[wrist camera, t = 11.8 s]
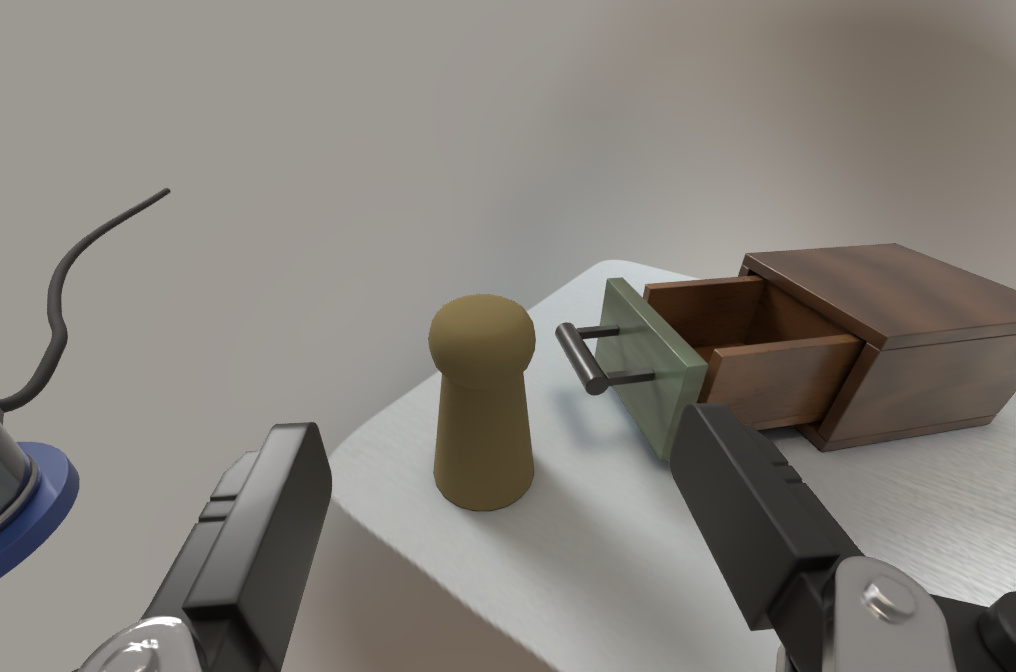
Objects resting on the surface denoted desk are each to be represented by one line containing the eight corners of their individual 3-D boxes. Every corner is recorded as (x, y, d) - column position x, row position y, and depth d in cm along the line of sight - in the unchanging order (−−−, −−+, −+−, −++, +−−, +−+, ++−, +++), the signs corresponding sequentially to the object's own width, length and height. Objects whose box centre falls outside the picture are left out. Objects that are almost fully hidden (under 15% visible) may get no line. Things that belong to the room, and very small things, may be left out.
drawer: (591, 471, 25) (608, 376, 22) (541, 363, 34) (548, 282, 30) (838, 432, 28) (891, 343, 25) (735, 342, 37) (762, 266, 33)
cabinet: (821, 452, 28) (888, 336, 23) (713, 349, 38) (745, 253, 33) (989, 424, 31) (1080, 314, 26) (847, 334, 40) (895, 243, 36)
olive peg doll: (420, 450, 28) (400, 293, 22) (505, 420, 30) (509, 271, 24) (456, 528, 23) (443, 358, 17) (553, 485, 26) (572, 323, 20)
